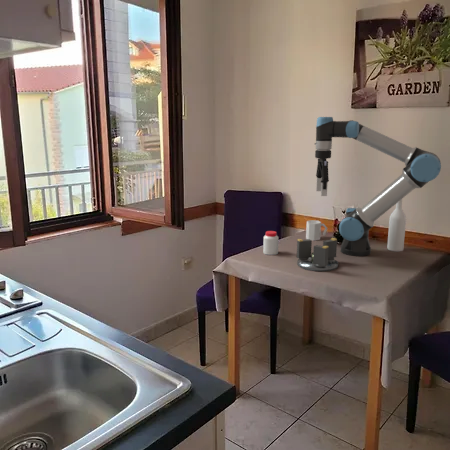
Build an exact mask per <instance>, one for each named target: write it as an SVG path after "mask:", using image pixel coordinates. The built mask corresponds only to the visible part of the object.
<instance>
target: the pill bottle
mask: <svg viewBox="0 0 450 450" xmlns="http://www.w3.org/2000/svg"><path fill="white" fill-rule="evenodd" d="M262 239H263V244H262V245H263V247H262V249H263V250H262V251H263V252H262V253H263V254H264V255H267V256H274V255H278V254H279V236H278V234H277V231H274V230H267V231H265V235H264V236H263V238H262Z"/></svg>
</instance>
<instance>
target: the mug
mask: <svg viewBox="0 0 450 450" xmlns="http://www.w3.org/2000/svg"><path fill="white" fill-rule="evenodd" d="M305 227H306V230H305V240H307V239H310V240H312V241H320V240H321V235H323V236H326V234H327V230H328V227H327V226H326V225H325V223H322V221H319V220H317V219H316V220H313V219H312V220H306V226H305ZM322 227H324V230H323V232H322ZM321 233H322V234H321Z"/></svg>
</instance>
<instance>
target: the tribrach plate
mask: <svg viewBox="0 0 450 450" xmlns="http://www.w3.org/2000/svg"><path fill="white" fill-rule="evenodd" d="M297 266H298V268H301V269H303V270H306V271H311V272H330V271H334V270H337V269H338V268H339V261H338V260H336V259H335V258H334V260H328V265H327V266H325V267H322V268H320V267H316V266H315V264H314V263H313V252H312V251H311V257H310V258H308V260H300V259H299V258H297Z"/></svg>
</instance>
